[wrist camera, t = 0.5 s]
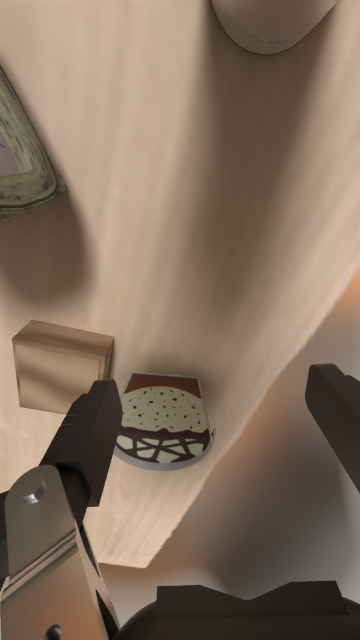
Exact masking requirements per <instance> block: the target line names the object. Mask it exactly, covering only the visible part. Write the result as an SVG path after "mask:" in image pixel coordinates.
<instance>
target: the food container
mask: <svg viewBox="0 0 360 640" xmlns="http://www.w3.org/2000/svg"><path fill="white" fill-rule="evenodd" d="M120 400H121V404H122V410H123V417H122V423H121V426H120V430H119V434H118V437H117V441H116V445H115V448H114V452H113V454H114V455H115V456H117V457H118V458H119V459H121V460H122V461H124V462H126V463H128V464H130V465H133V466H135V467H139V468H142V469H147V470H155V471H170V470H177V469H182V468H186V467H188V466H191V465H193V464H195V463H197V462H199V461H200V460H202V459H203V458H204V457H205V456H206V455H207V454H208V453H209V452H210V450H211V448H212V446H213V442H214V440H215V432H216V428H214V430H213V432H212V434H211V430H210V425H209V421H208V416H207V412H206V407H205V403H204V398H203V394H202V390H201V385H200V381H199V377H194V376H182V375H171V374H160V373H149V372H137V371H131V373H130V376H129V378H128V380H127V383H126V385H125V387H124V390H123V392H122V394H121V397H120Z"/></svg>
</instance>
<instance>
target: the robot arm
mask: <svg viewBox="0 0 360 640" xmlns="http://www.w3.org/2000/svg"><path fill="white" fill-rule="evenodd" d="M211 1H212V5H213V8H214V10H215V13H216V15H217V18H218V20H219V22H220V24H221V25H222V27H223V28H224V30H225V32H226V33H227V35H228V36H229V37H230V38H231V39H232V40H233V41H234V42H235V43H236V44H237V45H239V46H240V47H242V48H244V49H246V50H248V51H250V52H253V53H258V54H272V53H278V52H280V51H283V50H286V49H288V48H290V47H292V46H293V45H295V44H296V43H298V42H299V41H301V40H302V39H303V38H304V37H305V36H306V35H307V34H308V33H309V32H310V31H311V30H312V29H313V28H314V27H315V26H316V25H317V24H318V23H319V22H320V21H321V19H322V18H323V17H324V16H325V15H326V14H327V12H328V11H329V10H330V9H331V8H332V7H333V6H334V4H335V3H336V2H337V1H338V0H211ZM305 399H306V404H307V407H308V409H309V411H310V412H311V414H312V416H313V417H314V419H315V421H316V422H317V424H318V426H319V427H320V429H321V430H322V432H323V434H324V435H325V437H326V439H327V440H328V442H329V444H330V445H331V447H332V448H333V450H334V452H335V454H336V455H337V457H338V458H339V460H340V462H341V463H342V465H343V467H344V468H345V470H346V472H347V473H348V475H349V476H350V478H351V480H352V481H353V483H354V485H355V486H356V488H357V490H358V491H359V493H360V381H358V380H357V379H355V378H353V377H352V376H350V375H344V374H343V373H342V372H341V371H340V370H339V369H338V367H337V366H336V365H334V364H333V363H327V364H315V365H311V366H310V369H309V374H308V380H307V387H306V392H305ZM122 417H123V410H122V404H121V400H120V397H119V393H118V389H117V385H116V382H115V380H114V379H106V380H95V381H94V382H93V384H92V386H91V388H90V390H89V392H88V393H87V394H82V395H81V396H80V397H79V398H78V399H77V400H75V401H74V402H73V403H72V405H71V407H70V409H69V411H68V412H67V414H66V417H65V418H64V420H63V422H62V424H61V426H60V427H59V429H58V431H57V433H56V435H55V436H54V438H53V440H52V442H51V444H50V446H49V448H48V449H47V451H46V453H45V455H44V457H43V459H42V460H41V462H40V464H39V466H38V467H35V468H33V469H31V470H29V471H28V472H26V473H25V474H23V475H22V476H21V477H20V478H19V479H18V480H17V481H16V482H15V483H14V484H13V486H12V487H11V488H10V490H8V491H6V492H3V493H1V494H0V591H1V588H2V586H3V584H4V581H5V579H6V577H8V576H10V582H9V586H8V587H7V588H6V589H4V591H3V593H2V596H1V604H0V615H1V616H0V617H1V640H360V604H358V603H356V602H354V601H352V600H349V599H347V598H344V597H342V595H341V592H340V590H339V588H338V585H337V583H336V581H309V582H290V583H288V584H285V585H283V586H281V587H279V588H277V589H274V590H273V591H270V592H268V593H265V594H263V595H261V596H259V597H256V598H254V599H252V600H242V599H240V598H237V597H234V596H231V595H228V594H225V593H222V592H219V591H216V590H213V589H210V588H207V587H204V586H201V585H185V586H158V587H157V600H156V601H155V602H153V603H151V604H149V605H147V606H146V607H144V608H142V609H141V610H140V611H138V612H137V613H136V614H135V615H134V616H132V617H131V618H130V619H129V620H128V621H127V622H126V623H125V624H124V626H123V627H122V628H121V627H120V624H119V621H118V618H117V615H116V612H115V609H114V607H113V604H112V601H111V599H110V596H109V594H108V591H107V589H106V586H105V584H104V581H103V578H102V575H101V572H100V569H99V566H98V563H97V560H96V557H95V554H94V551H93V548H92V545H91V542H90V539H89V536H88V533H87V530H86V527H85V524H84V522H83V519H84V516H85V513H86V509H87V507H99V503H100V500H101V496H102V492H103V489H104V485H105V481H106V478H107V474H108V470H109V467H110V463H111V459H112V456H113V452H114V448H115V445H116V441H117V437H118V434H119V430H120V426H121V423H122Z"/></svg>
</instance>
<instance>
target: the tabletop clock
mask: <svg viewBox="0 0 360 640" xmlns="http://www.w3.org/2000/svg"><path fill="white" fill-rule="evenodd" d="M65 189H66V184H65V181H64V180H63V179H62V178H61V177H60V176H58V175H56V173H55V171H54V168H53V166H52V164H51V161H50V159H49V157H48V155H47V153H46V151H45V149H44V147H43V145H42V143H41V141H40V139H39V137H38V135H37V133H36V131H35V129H34V127H33V125H32V123H31V121H30V119H29V117H28V115H27V113H26V111H25V109H24V108H23V106H22V104H21V102H20V100H19V98H18V96H17V94H16V92H15V90H14V88H13V87H12V85H11V83H10V81H9V79H8V78H7V76H6V74H5V72H4V70H3V69H2V67H1V65H0V225H1V224H3V223H5V222H7V221H9V220H11V219H13V218H15V217H18V216H20V215H22V214H24V213H26V212H28V211H30V210H32V209H35V208H37V207H39V206H41V205H43V204H45V203H47V202H49V201H50V200H52V199H53V198H54V197H55V196H57V195H60V194H62V193H63V192H65Z"/></svg>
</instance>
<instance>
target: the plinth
mask: <svg viewBox="0 0 360 640" xmlns="http://www.w3.org/2000/svg"><path fill="white" fill-rule="evenodd" d="M113 341H114V337H112V336H107V335H103V334H98V333H93V332H88V331H83V330H78V329H73V328H69V327H64V326H59V325H54V324H49V323H44V322H40V321H35V320H31V321H30V322H29V323H28V324H27V325H26V326H25V327H24V328H23V329H22V330H21V331H20V332H18V333H17V334H16V335H15V336H14V337H13V338H12V342H13V351H14V360H15V368H16V377H17V386H18V395H19V404H20V407H24V408H30V409H36V410H42V411H48V412H54V413H60V414H67V412H68V411H69V409H70V407H71V405H72V403H73V402H74V401H75V400H77V399H78V398H79V397H80V396H81V395H82V394H87V393H88V392H89V390H90V388H91V386H92V384H93V382H94V381H95V380H106V379H108V378H109V371H110V363H111V356H112V349H113Z"/></svg>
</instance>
